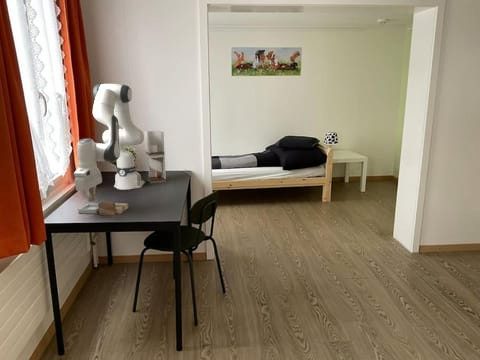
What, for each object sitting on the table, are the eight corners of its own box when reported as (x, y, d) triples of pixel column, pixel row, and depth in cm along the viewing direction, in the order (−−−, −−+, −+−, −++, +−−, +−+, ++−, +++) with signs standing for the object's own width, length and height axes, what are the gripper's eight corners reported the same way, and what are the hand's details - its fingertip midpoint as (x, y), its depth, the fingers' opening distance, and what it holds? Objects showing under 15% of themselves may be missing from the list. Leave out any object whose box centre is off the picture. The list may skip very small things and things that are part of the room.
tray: (88, 207, 208) (88, 203, 207) (105, 208, 206) (105, 204, 206) (78, 213, 198) (78, 209, 197) (96, 214, 196) (95, 209, 196)
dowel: (90, 199, 202) (88, 185, 200) (95, 200, 202) (94, 185, 200) (87, 201, 199) (86, 186, 197) (92, 201, 199) (91, 187, 197)
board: (108, 207, 209) (107, 202, 208) (128, 208, 207) (127, 203, 206) (98, 213, 199) (98, 208, 198) (120, 214, 197) (119, 209, 197)
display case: (147, 179, 271) (144, 131, 262) (162, 178, 275) (159, 130, 267) (151, 183, 261) (147, 133, 252) (166, 181, 265) (163, 132, 257)
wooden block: (102, 212, 199) (101, 202, 197) (116, 213, 197) (115, 202, 196) (99, 214, 196) (98, 203, 194) (113, 215, 195) (112, 204, 193)
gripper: (93, 166, 207) (95, 190, 210) (71, 173, 187) (74, 200, 191) (103, 166, 206) (105, 190, 209) (83, 174, 186) (86, 200, 190)
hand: (90, 195), depth 200 cm, fingers closed on dowel, 3 cm apart
